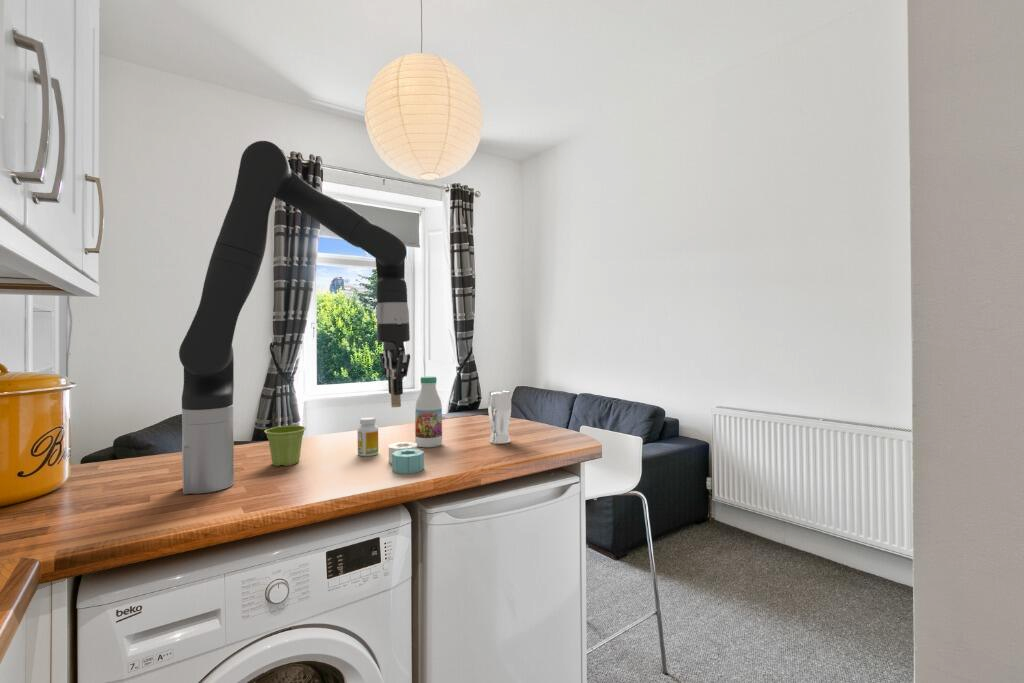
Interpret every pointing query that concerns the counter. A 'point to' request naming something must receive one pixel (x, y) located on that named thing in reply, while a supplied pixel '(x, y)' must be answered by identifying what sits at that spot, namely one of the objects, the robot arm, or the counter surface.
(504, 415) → the beer glass
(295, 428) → the plant pot
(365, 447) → the supplement bottle
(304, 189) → the robot arm
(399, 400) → the needle dowel
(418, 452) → the teal bead
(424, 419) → the milk bottle
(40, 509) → the counter surface
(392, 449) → the cream bead
